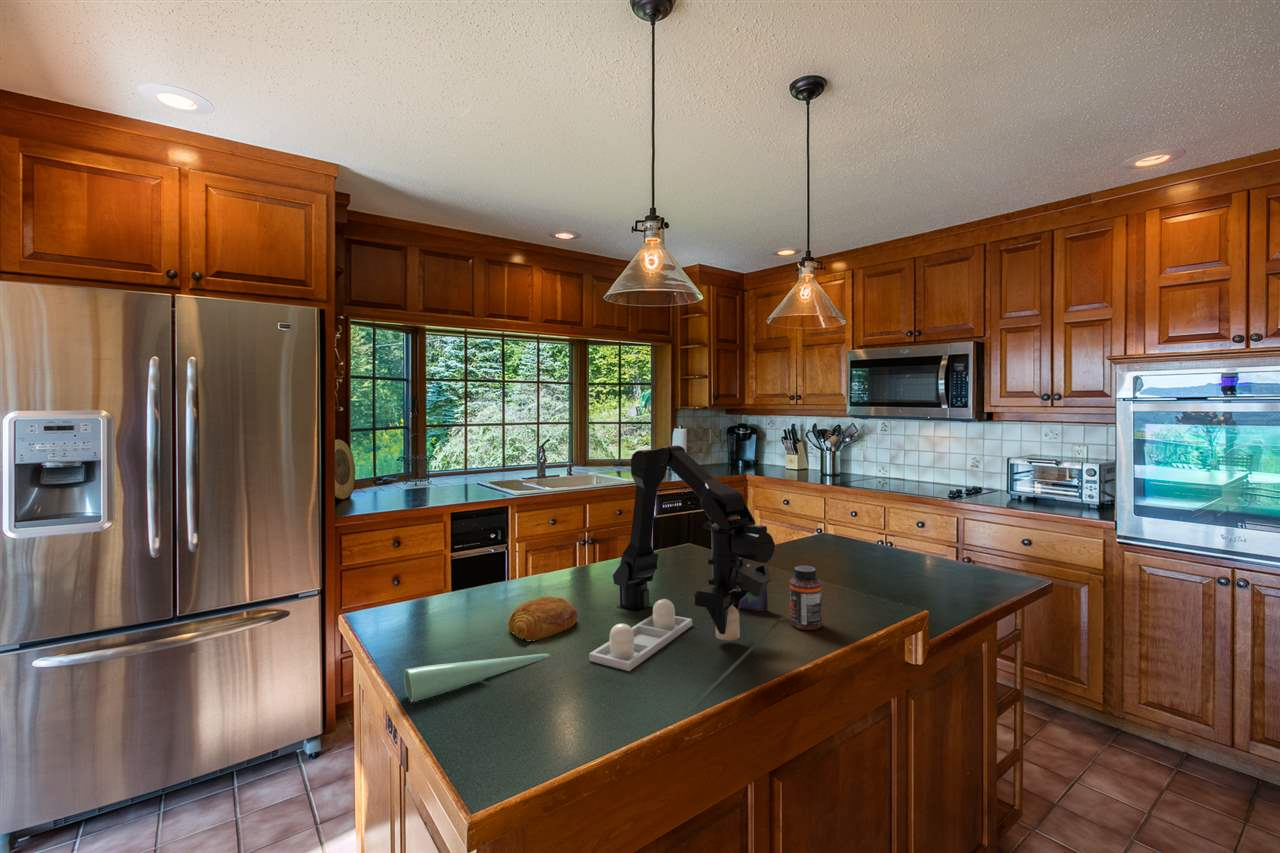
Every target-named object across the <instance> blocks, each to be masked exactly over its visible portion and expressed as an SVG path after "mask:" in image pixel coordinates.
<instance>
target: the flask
mask: <svg viewBox="0 0 1280 853" xmlns="http://www.w3.org/2000/svg"><path fill="white" fill-rule="evenodd" d="M746 566H748V567H750V566H751V564H746ZM750 568H751V567H750ZM768 601H769V600H768V587H767V588H766V590H765V593H763V594H761V596H760V597H755V596H753V595H751V593H748V594H747V595H746V596H745V597H743V599H742V601H741V605H740V608H739V609H743V610H750V611H755V612H760V611H767V612H768V609H769V608H768V607H769V606H768V603H769V602H768Z"/></svg>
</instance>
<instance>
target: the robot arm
mask: <svg viewBox="0 0 1280 853" xmlns="http://www.w3.org/2000/svg"><path fill="white" fill-rule="evenodd" d="M668 467H669V469H670V470H671V471H672V472H674V474H676V476H678V478H680V480H681V481H683V483H684V484H686V486H687V487H688V488H690V490H692V492H694V493H695V495H696V496H697V497H698V498H699V505H700V508H701V509H702V510H703V512H705V514H706V516H707V517H708V518H709V520H708V521H707V522H706V523H704V525H703V528H704V529H705V530H710V531H711V533H710V534H711V539H710V540H711V541H710V542H711V557H710V558H708V559H707V561H708V562H707V564H708V565H711V576H712V577H710V578H708V585H711V586H706V585H705V586H703V587H701V588H700V589H698V590H696V591H695V593H693V595H692V596H693V605H694V606H696V607H702V608H705V609H706V610H707V612H708V614H709V615H710V618H711V620H712V621H713V623H714V626H715V628H716V627H717V629H718V631H719V633H720V634H725V631H726V624H727V615H728V609H729V608H730V607H731V606H732V605H733V606H734V607H735V608H736V609H737V610H738V613H740V609H741V608H740V605H741V601H742V599H743V597H745V596H746V595H747V594H748V593H751V595H753V596H755V597H760V596H761V594H763V593H765V590H766V588H767V589H768V585H769V583H771V580H772V579H771V575H770V572H769V567H768V566H766V565H765V563H768V562H769V561H770V560H771V559H772V557H773V556H774V553H775V548H776V546H775V542H774V539H773V536H772V535H771V534H770V533H769V532H768V527H767V526H766V525H758V524H757V525H756V520H755V519H754V516H753V515H752V513H751V512H750V509H749V508H748V506H747V504H746V502H745V498H744V496H743V494H742V493H741V492H740V491H738V490H737V489H736V488H733V487H732V486H730V485H729V484H726V483H723V482H720V481H718V480H716V479H715V478H714V477H712V476H711V474H710V473H708V472H707V471H706V470H705V469H704V468H703V467H702V466H701V465H700V464H699V463H698V462H696V461H695V459H693V458H692V457H691V456H690V455H689V454H688V453H687V452H686V449H685V448H684V447H683V446H680V445H667V446H666V445H665V446H663V447H660V448H655V449H642V450H641V449H640V450H635V452H634V453H633V454H632V455H631V458H630V474H631V478H632V479H633V481H634V484H635V486H636V487H635V495H634V496H635V497H634V504H633V514H632V524H631V533H630V541H629V544H628V545H627V546H626V547H625V549H624V550H623V552H622V555H621V560H620V564H619V565H618V567H617V569H616V570H615V572H614V573H613V574H612V580H613V584H614V585H616V586H619V605H617V606H616V608H617V609H620V610H621V609H622V610H628V611H631V612H640V611H642V610H644V609H646V608H648V607H649V606H650V605H652V603H651V602H650V589H649V588H648V586H649V584H648V583H650V582H654V581H653V579H654V576H655V572H656V570H658V559H659V553H657V552H655V551H654V548H653V547H652V538H653V537H652V535H653V529H654V517H655V510H656V502H657V501H656V500H657V493H658V492H657V491H658V488H659V486H660V484H661V483H662V482H663V480H664V479H665V477H666V474H667V469H668ZM746 560H750V561H754V562H758V563H761V564H760V565H758V566H757V567H756V568H755V567H754V566H751V567H748V566H747V564H746ZM762 563H763V564H762ZM712 586H714V587H712Z"/></svg>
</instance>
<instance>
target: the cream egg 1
mask: <svg viewBox="0 0 1280 853" xmlns="http://www.w3.org/2000/svg"><path fill="white" fill-rule="evenodd" d="M608 642H610V657H614V658H618V659H622V660H626V661H628V660H630V659H631V658H633V657H634V656H635V655H634V633H633V630H632V627H631V626H630V625H629V624H626V623H616V624H615V625H614V626H613V627H612V628H611V630H610V631H609V641H608Z"/></svg>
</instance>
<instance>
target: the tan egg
mask: <svg viewBox="0 0 1280 853" xmlns="http://www.w3.org/2000/svg"><path fill="white" fill-rule="evenodd" d="M740 629H741V628H740V612H738V610H737V609H736V608H735V607H734V606H733V605H732V606H731V607H730V608H729V609H728V615H727V624H726V631H725V634H720V633H719V631H718V629H717V627H716V626H715V638H716V639H718V640H721V641H726V642H727V641H728V642H729V641H736V640H738V639H739V638H740V637H741V636H740V633H741V632H740Z"/></svg>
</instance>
